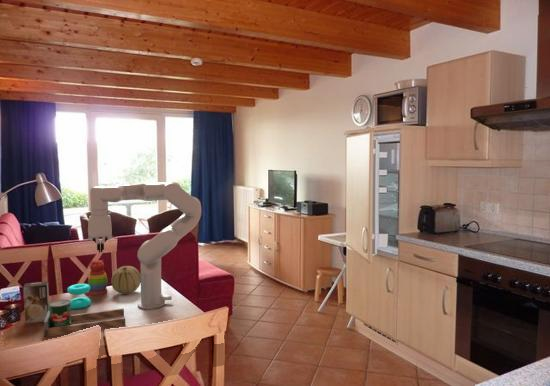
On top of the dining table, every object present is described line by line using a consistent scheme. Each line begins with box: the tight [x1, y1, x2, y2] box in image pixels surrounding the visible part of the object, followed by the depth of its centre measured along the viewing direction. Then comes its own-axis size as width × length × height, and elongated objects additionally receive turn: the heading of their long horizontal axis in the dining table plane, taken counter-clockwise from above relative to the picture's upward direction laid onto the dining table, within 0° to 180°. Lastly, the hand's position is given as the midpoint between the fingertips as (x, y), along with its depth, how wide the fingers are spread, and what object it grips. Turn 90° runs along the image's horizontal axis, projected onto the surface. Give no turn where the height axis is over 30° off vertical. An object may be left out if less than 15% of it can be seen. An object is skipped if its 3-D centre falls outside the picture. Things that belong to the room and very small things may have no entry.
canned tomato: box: [49, 299, 72, 328], centre depth 168 cm, size 8×8×11 cm
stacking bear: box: [84, 259, 109, 297], centre depth 215 cm, size 11×10×18 cm
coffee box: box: [22, 280, 50, 324], centre depth 178 cm, size 9×6×16 cm
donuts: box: [67, 283, 92, 310], centre depth 195 cm, size 10×10×10 cm
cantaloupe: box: [110, 265, 141, 295], centre depth 215 cm, size 15×15×15 cm
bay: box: [43, 308, 126, 338], centre depth 172 cm, size 30×13×6 cm, turn 113°
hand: (100, 251), depth 191 cm, fingers closed
